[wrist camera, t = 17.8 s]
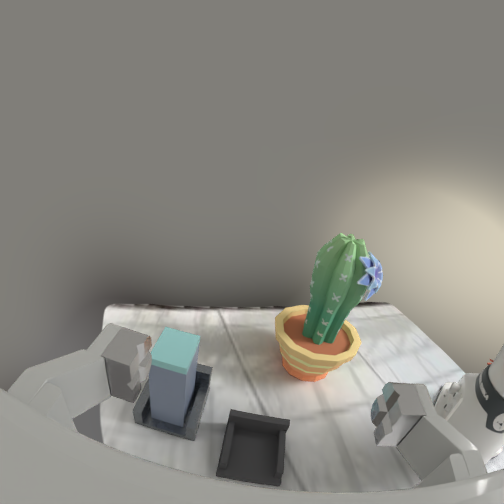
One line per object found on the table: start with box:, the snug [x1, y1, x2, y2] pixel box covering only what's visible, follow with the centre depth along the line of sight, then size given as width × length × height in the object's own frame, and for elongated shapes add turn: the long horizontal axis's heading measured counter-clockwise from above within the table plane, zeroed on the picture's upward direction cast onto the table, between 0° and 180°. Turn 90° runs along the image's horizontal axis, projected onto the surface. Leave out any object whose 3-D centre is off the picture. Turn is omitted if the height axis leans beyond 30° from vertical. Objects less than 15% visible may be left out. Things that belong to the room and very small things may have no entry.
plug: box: [149, 327, 200, 427], centre depth 36 cm, size 6×4×12 cm
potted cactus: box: [275, 233, 383, 382], centre depth 48 cm, size 15×15×25 cm
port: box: [133, 364, 213, 440], centre depth 38 cm, size 10×8×6 cm
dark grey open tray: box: [216, 409, 290, 486], centre depth 34 cm, size 9×8×4 cm
